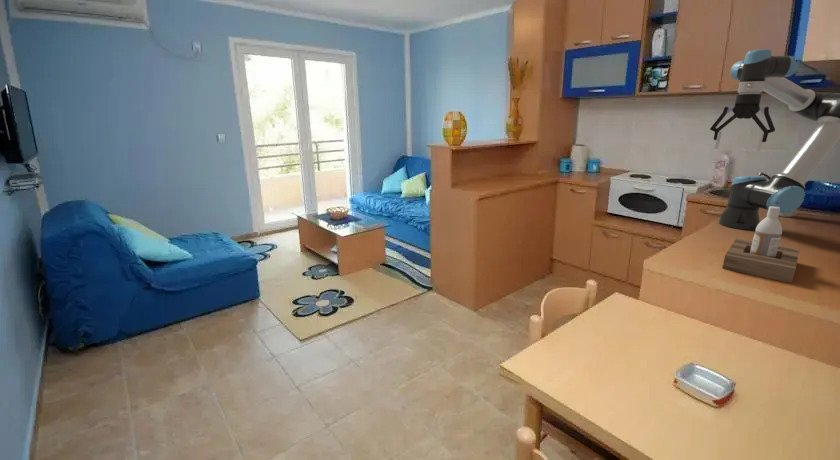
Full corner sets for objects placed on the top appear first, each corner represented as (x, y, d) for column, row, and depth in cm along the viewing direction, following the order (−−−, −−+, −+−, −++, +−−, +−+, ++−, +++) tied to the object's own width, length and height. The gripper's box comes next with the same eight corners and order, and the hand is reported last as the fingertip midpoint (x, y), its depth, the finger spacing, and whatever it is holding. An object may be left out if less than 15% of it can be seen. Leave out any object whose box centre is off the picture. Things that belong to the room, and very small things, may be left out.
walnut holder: (733, 250, 156) (736, 238, 154) (795, 262, 144) (799, 249, 142) (722, 268, 139) (725, 254, 138) (791, 283, 127) (795, 268, 126)
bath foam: (743, 258, 145) (757, 204, 139) (766, 259, 144) (780, 205, 138) (753, 265, 139) (768, 209, 133) (777, 267, 137) (793, 210, 131)
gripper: (708, 94, 161) (698, 148, 167) (792, 92, 144) (776, 152, 150) (712, 94, 166) (702, 146, 172) (793, 92, 149) (778, 150, 156)
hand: (736, 149), depth 161 cm, fingers open, 13 cm apart
